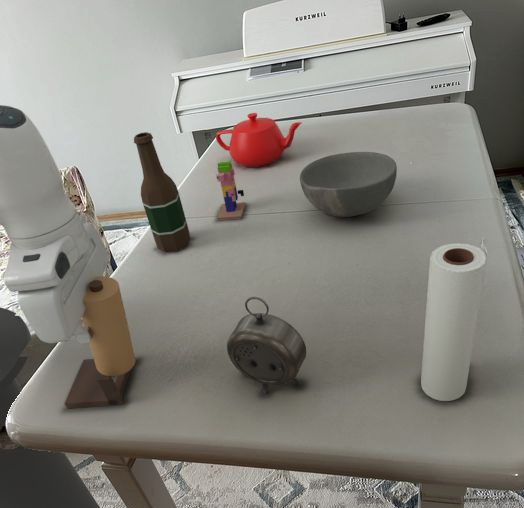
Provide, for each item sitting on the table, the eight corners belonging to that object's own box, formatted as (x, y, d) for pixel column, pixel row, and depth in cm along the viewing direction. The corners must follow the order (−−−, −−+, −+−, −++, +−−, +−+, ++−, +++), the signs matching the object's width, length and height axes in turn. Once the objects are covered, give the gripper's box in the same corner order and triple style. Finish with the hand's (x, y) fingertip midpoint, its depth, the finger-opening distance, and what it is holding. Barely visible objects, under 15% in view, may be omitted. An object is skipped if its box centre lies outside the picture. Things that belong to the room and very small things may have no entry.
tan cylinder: (131, 387, 78) (91, 386, 79) (141, 353, 84) (105, 352, 84) (109, 300, 68) (64, 299, 68) (123, 268, 73) (82, 267, 73)
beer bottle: (169, 233, 119) (137, 127, 103) (198, 236, 116) (169, 127, 100) (150, 251, 114) (114, 142, 99) (179, 255, 111) (146, 143, 95)
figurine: (223, 206, 126) (212, 157, 118) (245, 204, 125) (236, 155, 117) (217, 220, 121) (206, 170, 113) (241, 218, 119) (231, 168, 112)
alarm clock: (311, 378, 77) (300, 290, 67) (298, 404, 74) (284, 315, 63) (246, 365, 82) (226, 280, 71) (231, 389, 78) (208, 303, 68)
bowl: (414, 200, 114) (416, 155, 107) (361, 243, 104) (360, 196, 97) (339, 183, 125) (336, 142, 119) (285, 221, 115) (279, 178, 109)
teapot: (211, 172, 143) (201, 127, 135) (229, 149, 153) (221, 106, 145) (298, 170, 135) (293, 122, 127) (312, 146, 145) (308, 101, 138)
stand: (67, 408, 81) (52, 383, 77) (86, 364, 88) (73, 339, 84) (122, 404, 79) (109, 379, 76) (136, 360, 87) (126, 335, 83)
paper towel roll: (429, 406, 70) (441, 274, 56) (414, 375, 75) (423, 246, 61) (481, 396, 70) (507, 262, 56) (464, 366, 75) (484, 235, 61)
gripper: (56, 208, 75) (93, 286, 84) (-4, 289, 59) (50, 375, 68) (97, 201, 74) (130, 281, 83) (47, 282, 58) (94, 370, 67)
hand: (94, 324), depth 75 cm, fingers closed on tan cylinder, 5 cm apart
